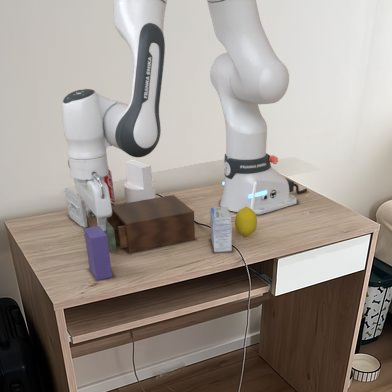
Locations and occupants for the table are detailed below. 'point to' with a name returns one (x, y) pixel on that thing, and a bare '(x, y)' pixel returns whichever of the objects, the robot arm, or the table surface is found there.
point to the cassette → (76, 208)
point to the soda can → (110, 186)
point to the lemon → (245, 221)
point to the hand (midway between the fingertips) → (96, 223)
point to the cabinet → (156, 222)
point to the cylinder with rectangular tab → (138, 182)
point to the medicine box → (221, 229)
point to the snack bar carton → (98, 252)
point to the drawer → (115, 232)
